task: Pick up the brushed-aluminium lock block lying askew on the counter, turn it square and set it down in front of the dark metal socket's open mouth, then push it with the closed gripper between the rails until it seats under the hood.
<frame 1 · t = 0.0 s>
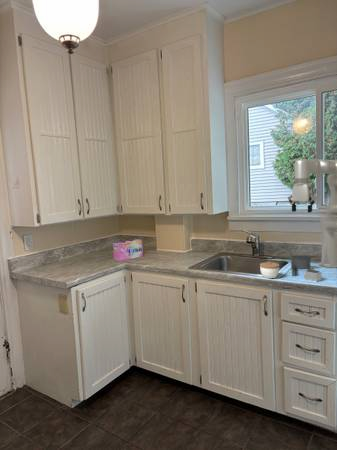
hand: (301, 211, 189), 37 cm above the worktop, tool pointing down, fingers open, 9 cm apart
coupler socket: (301, 272, 199), on the worktop
gum box: (128, 258, 261), on the worktop
lock block: (312, 280, 185), on the worktop
lidded jar: (269, 277, 193), on the worktop
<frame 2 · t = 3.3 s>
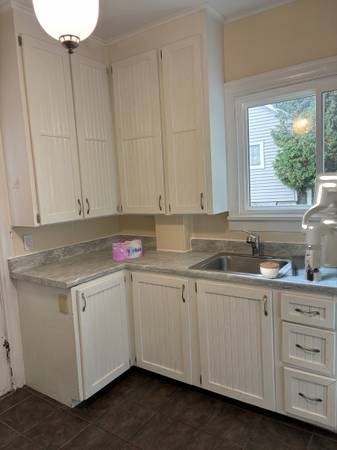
hand: (312, 278, 185), 1 cm above the worktop, tool pointing down, fingers closed on lock block, 5 cm apart
lock block: (312, 279, 185), on the worktop, touching gripper
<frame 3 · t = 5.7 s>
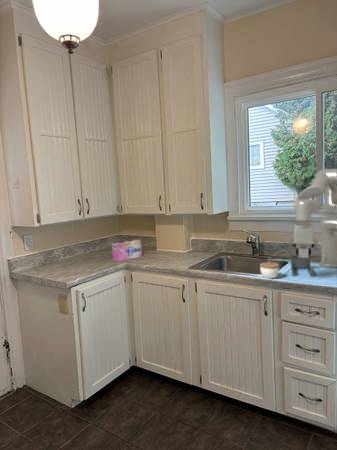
hand: (303, 255, 185), 14 cm above the worktop, tool pointing down, fingers closed on lock block, 5 cm apart
lock block: (303, 256, 185), point 13 cm above the worktop, touching gripper
when the fingers open (2 cm above the worktop, at t = 8.1 s): lock block drops 1 cm, on the worktop.
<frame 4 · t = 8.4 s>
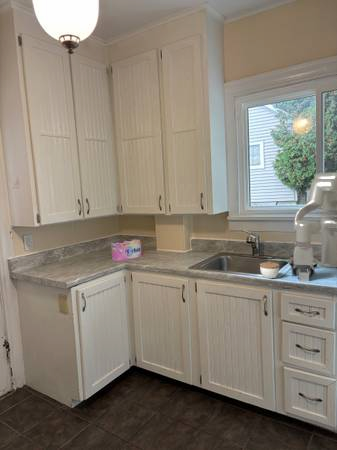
hand: (303, 275, 186), 2 cm above the worktop, tool pointing down, fingers open, 8 cm apart
lock block: (303, 279, 186), on the worktop
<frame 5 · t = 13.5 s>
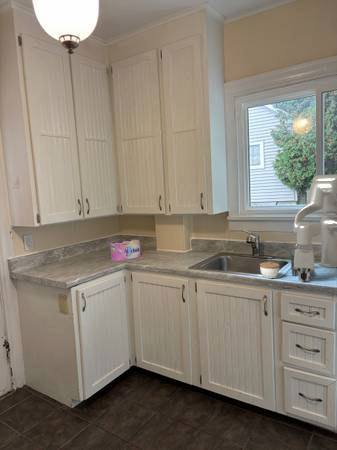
hand: (303, 279, 182), 1 cm above the worktop, tool pointing down, fingers closed
lock block: (303, 279, 187), on the worktop, touching gripper
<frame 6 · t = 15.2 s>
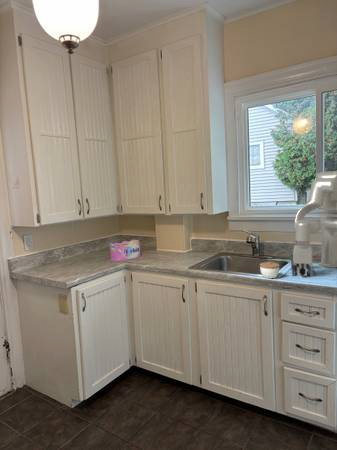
hand: (302, 274, 191), 1 cm above the worktop, tool pointing down, fingers closed
lock block: (301, 274, 196), on the worktop, touching gripper
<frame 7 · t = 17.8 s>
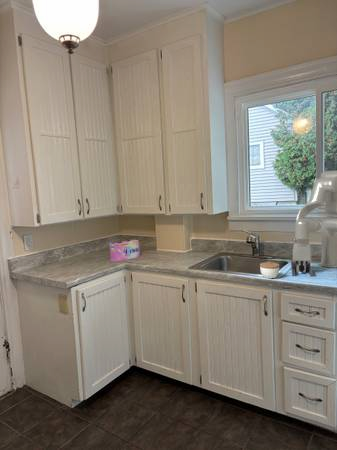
hand: (301, 271, 198), 1 cm above the worktop, tool pointing down, fingers closed
lock block: (300, 271, 203), on the worktop
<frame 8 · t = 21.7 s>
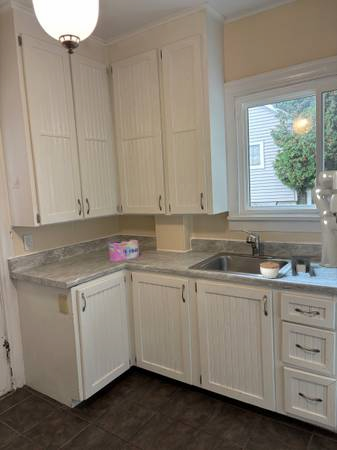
at the end: lock block inside the target area on the coupler socket (0.4 cm from its centre), point 0.0 cm above the coupler socket's base; lock block tilted 0°; the gripper is holding nothing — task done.
